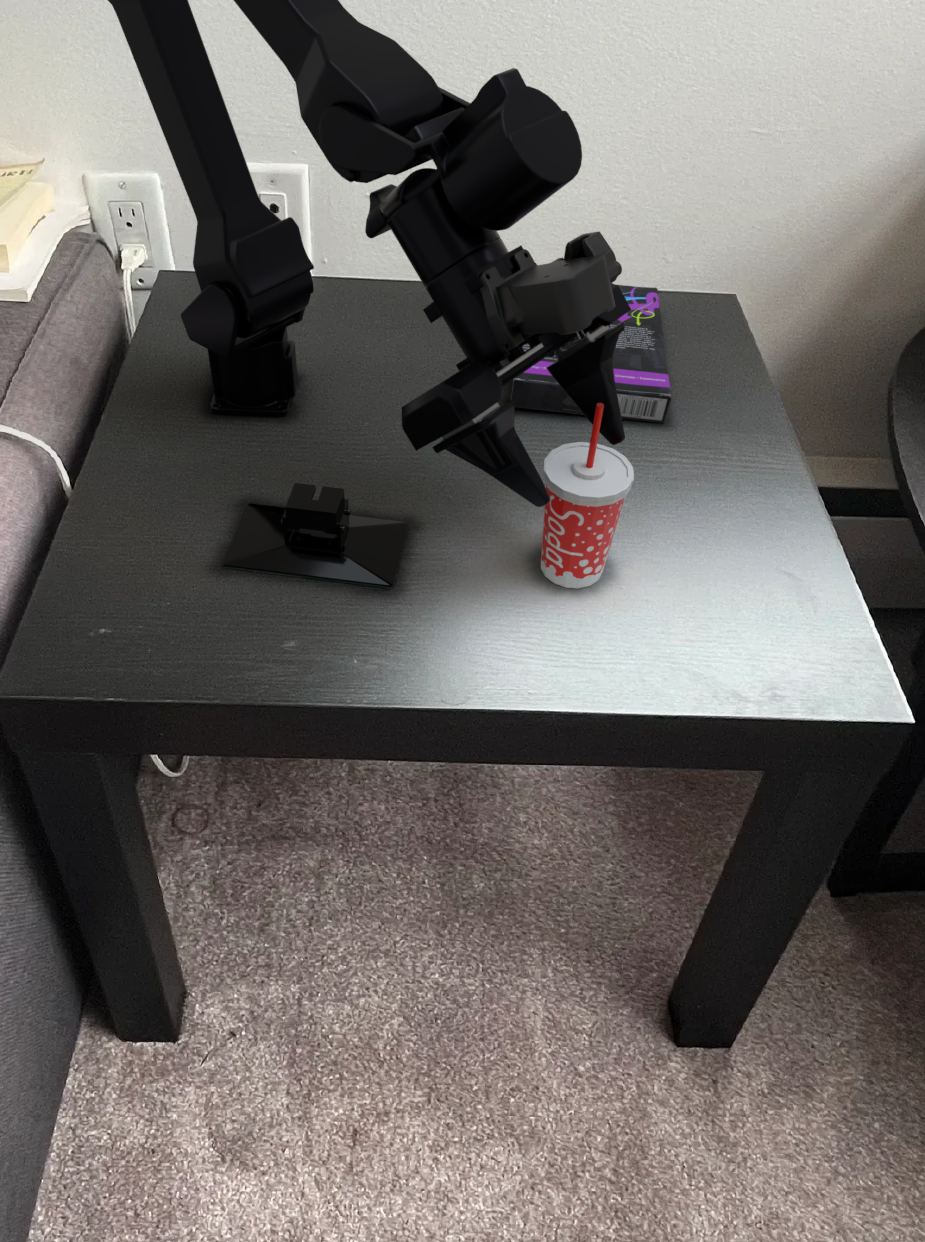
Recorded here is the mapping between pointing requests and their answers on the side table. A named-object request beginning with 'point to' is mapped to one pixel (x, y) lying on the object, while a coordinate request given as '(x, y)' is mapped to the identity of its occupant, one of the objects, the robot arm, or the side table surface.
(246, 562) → the build plate
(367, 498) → the side table surface
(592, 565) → the beverage cup
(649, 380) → the box
